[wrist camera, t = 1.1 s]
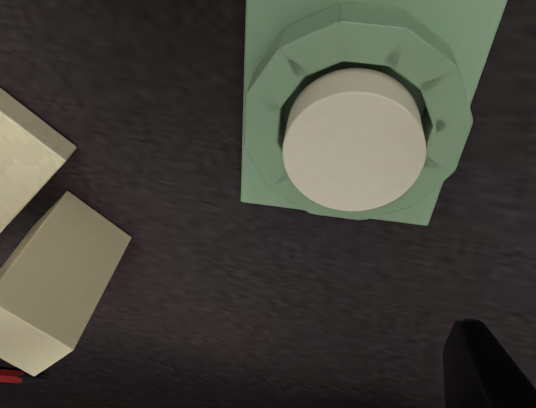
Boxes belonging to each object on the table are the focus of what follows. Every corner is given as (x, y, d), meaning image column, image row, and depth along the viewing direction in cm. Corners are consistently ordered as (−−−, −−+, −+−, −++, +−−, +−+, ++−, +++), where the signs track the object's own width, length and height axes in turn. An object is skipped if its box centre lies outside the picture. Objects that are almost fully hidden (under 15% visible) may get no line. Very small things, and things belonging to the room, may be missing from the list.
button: (403, 188, 18) (407, 220, 16) (282, 174, 18) (277, 203, 17) (436, 75, 15) (444, 101, 14) (293, 59, 15) (288, 83, 14)
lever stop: (132, 237, 26) (73, 350, 20) (96, 266, 28) (34, 376, 22) (67, 190, 24) (-15, 298, 19) (34, 224, 26) (-49, 331, 21)
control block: (423, 201, 22) (433, 257, 19) (246, 179, 22) (232, 230, 20) (504, -44, 15) (537, -13, 13) (255, -66, 16) (236, -41, 13)
